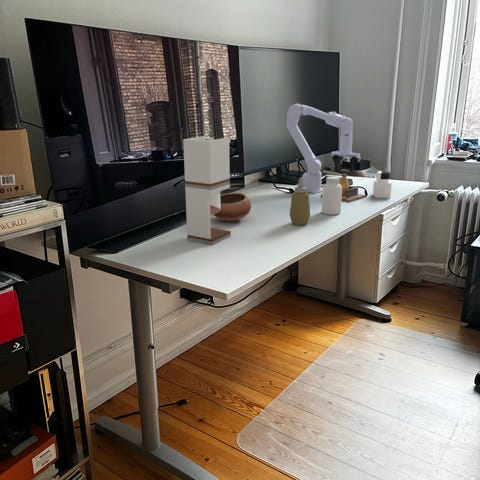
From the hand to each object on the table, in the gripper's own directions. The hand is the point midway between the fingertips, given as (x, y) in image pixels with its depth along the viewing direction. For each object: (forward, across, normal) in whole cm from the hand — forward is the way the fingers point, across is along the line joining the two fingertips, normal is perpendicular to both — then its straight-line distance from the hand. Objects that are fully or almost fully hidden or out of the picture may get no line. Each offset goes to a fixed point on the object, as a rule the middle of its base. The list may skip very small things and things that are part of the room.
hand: (344, 171), depth 239 cm
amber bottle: (+9, +5, -9) cm, 14 cm away
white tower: (+10, +2, -96) cm, 96 cm away
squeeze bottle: (+10, +16, -60) cm, 62 cm away
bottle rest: (+10, +5, -9) cm, 14 cm away
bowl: (+10, -8, -73) cm, 74 cm away
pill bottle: (+10, +16, -38) cm, 42 cm away
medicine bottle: (+11, +18, +4) cm, 21 cm away
